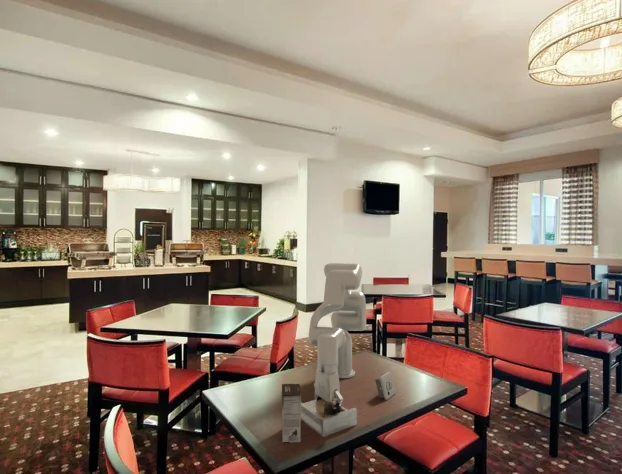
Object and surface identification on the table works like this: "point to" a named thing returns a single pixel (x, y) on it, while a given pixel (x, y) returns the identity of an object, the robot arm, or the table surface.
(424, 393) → the table surface
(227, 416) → the table surface
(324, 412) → the tan cardboard box
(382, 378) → the electrical switch
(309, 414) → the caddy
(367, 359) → the table surface
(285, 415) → the coffee box
